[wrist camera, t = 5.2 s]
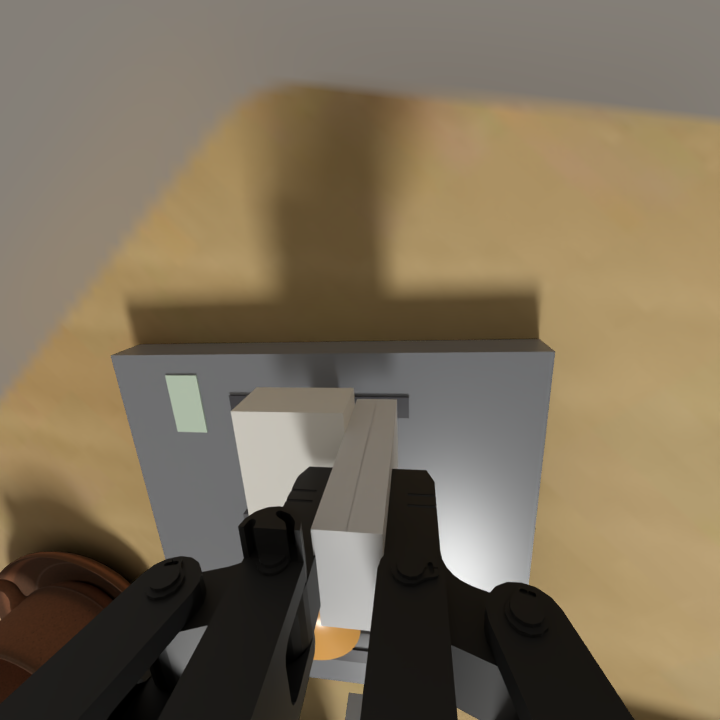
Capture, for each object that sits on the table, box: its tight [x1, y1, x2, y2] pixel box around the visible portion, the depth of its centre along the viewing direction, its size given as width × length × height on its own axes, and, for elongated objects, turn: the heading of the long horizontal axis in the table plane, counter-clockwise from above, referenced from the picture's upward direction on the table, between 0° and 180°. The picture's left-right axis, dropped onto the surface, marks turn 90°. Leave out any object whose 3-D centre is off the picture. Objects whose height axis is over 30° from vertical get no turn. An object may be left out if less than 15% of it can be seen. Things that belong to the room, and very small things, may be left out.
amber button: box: [313, 610, 361, 660], centre depth 16 cm, size 4×4×2 cm
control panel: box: [111, 339, 555, 684], centre depth 19 cm, size 20×21×4 cm
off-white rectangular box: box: [231, 387, 355, 515], centre depth 14 cm, size 4×4×5 cm
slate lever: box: [345, 693, 363, 720], centre depth 19 cm, size 4×4×5 cm
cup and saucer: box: [0, 552, 131, 704], centre depth 24 cm, size 12×12×6 cm
